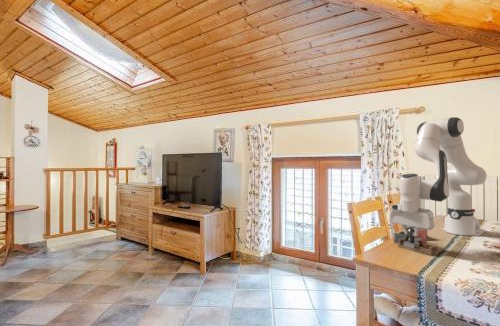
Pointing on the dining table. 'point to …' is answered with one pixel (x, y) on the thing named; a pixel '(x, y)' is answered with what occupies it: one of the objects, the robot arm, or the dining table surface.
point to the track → (418, 248)
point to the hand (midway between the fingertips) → (411, 235)
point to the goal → (401, 235)
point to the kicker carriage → (415, 238)
